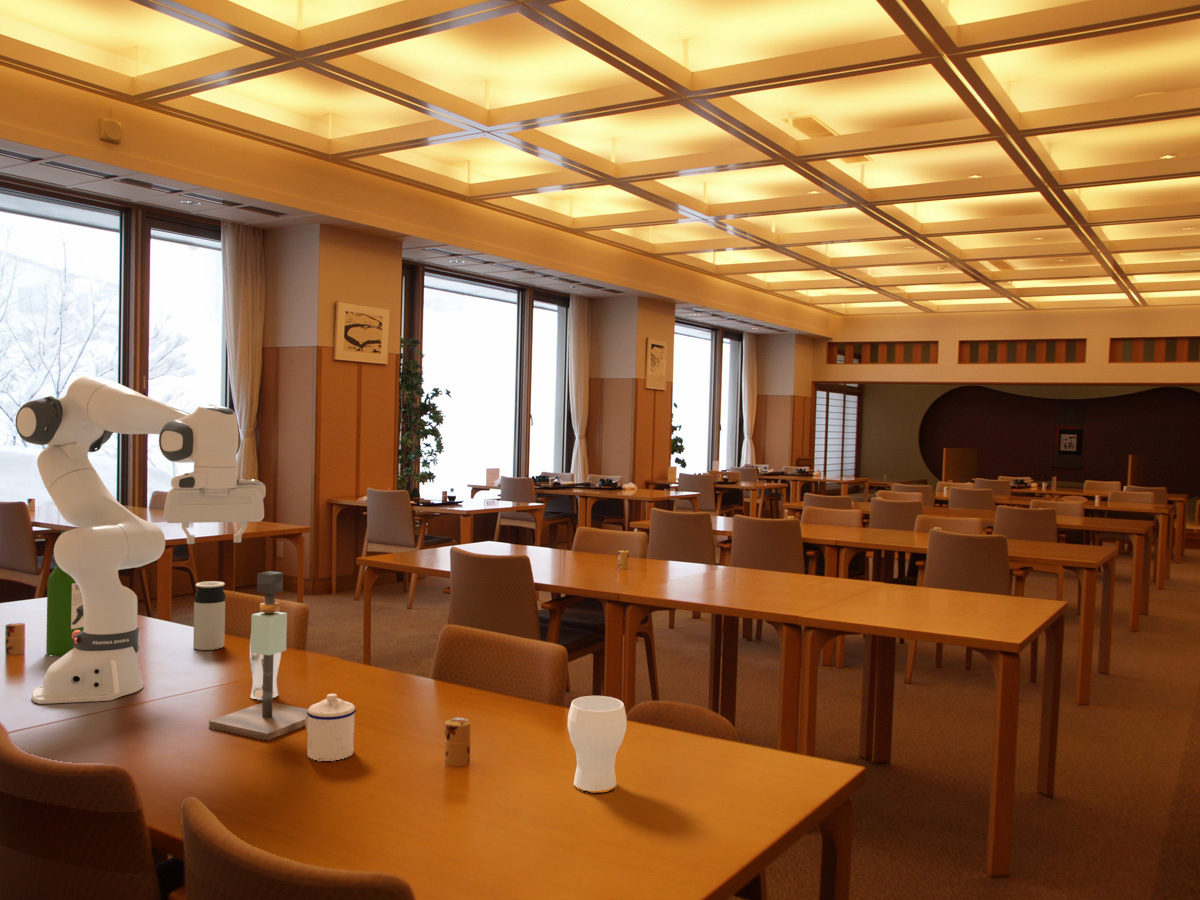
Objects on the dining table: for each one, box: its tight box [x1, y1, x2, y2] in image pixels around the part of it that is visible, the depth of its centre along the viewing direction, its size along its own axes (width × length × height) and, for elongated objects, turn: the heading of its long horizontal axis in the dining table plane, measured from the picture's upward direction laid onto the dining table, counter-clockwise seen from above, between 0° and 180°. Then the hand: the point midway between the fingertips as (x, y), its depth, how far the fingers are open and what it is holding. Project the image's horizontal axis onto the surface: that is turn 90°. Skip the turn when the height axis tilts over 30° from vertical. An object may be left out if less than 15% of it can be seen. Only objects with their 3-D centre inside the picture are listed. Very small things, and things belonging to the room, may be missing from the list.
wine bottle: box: [45, 530, 84, 657], centre depth 246 cm, size 9×9×32 cm
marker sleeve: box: [250, 611, 288, 655], centre depth 194 cm, size 5×5×8 cm
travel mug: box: [192, 580, 226, 651], centre depth 256 cm, size 8×8×18 cm
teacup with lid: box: [305, 693, 357, 762], centre depth 178 cm, size 12×9×12 cm
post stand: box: [208, 570, 308, 741], centre depth 194 cm, size 16×16×32 cm
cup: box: [567, 695, 628, 791], centre depth 166 cm, size 11×11×15 cm
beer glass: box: [248, 637, 282, 701], centre depth 213 cm, size 7×7×15 cm
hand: (214, 542), depth 201 cm, fingers open, 8 cm apart
